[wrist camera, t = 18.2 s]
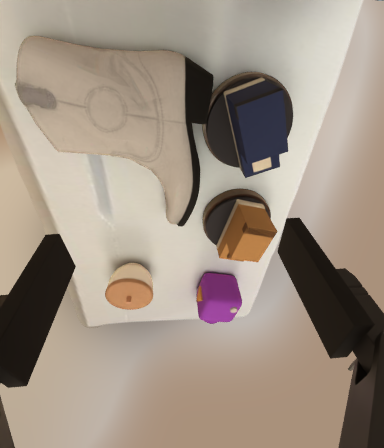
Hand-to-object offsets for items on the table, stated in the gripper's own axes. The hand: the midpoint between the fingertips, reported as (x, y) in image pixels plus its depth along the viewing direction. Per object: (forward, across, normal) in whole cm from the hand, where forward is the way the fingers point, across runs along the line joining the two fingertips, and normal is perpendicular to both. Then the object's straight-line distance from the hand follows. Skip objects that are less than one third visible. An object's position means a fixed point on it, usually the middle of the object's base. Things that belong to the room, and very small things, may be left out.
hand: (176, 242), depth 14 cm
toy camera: (+31, +8, -46) cm, 56 cm away
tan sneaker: (+28, +12, -22) cm, 38 cm away
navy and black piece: (+28, +12, -2) cm, 31 cm away
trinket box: (+31, -13, -37) cm, 50 cm away
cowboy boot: (+31, -8, -4) cm, 32 cm away
